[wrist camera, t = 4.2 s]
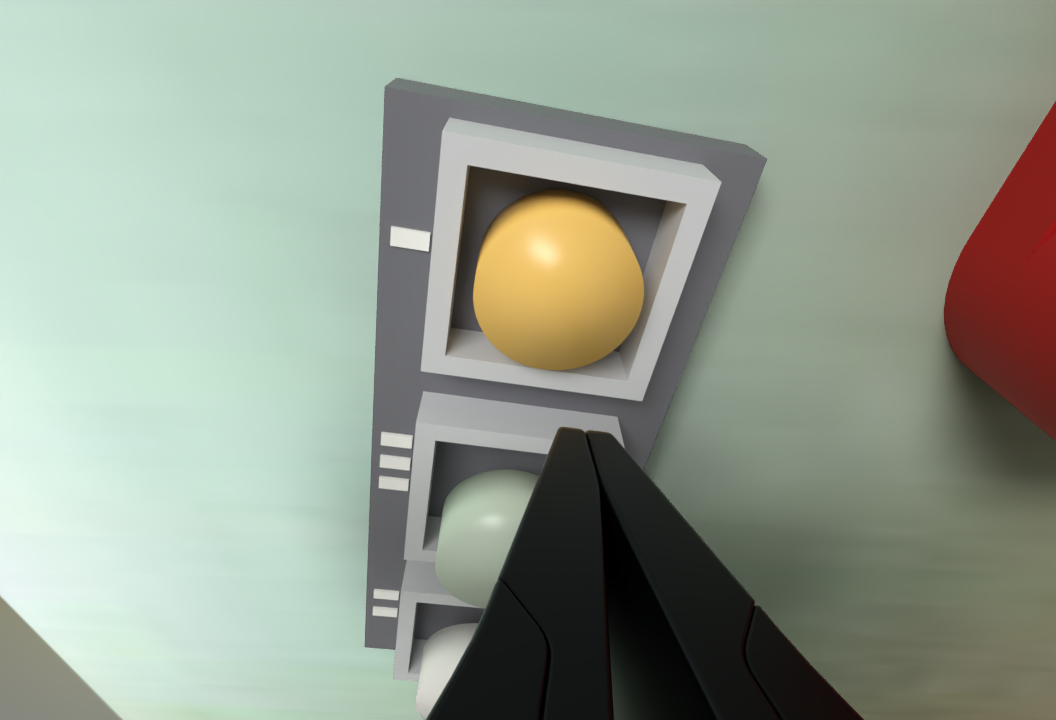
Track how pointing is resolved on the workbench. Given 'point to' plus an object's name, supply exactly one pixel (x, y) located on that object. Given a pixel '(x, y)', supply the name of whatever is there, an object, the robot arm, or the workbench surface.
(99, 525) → the workbench surface
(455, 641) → the button white
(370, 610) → the control board
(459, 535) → the button sage
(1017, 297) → the lever
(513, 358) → the button amber
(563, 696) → the robot arm
